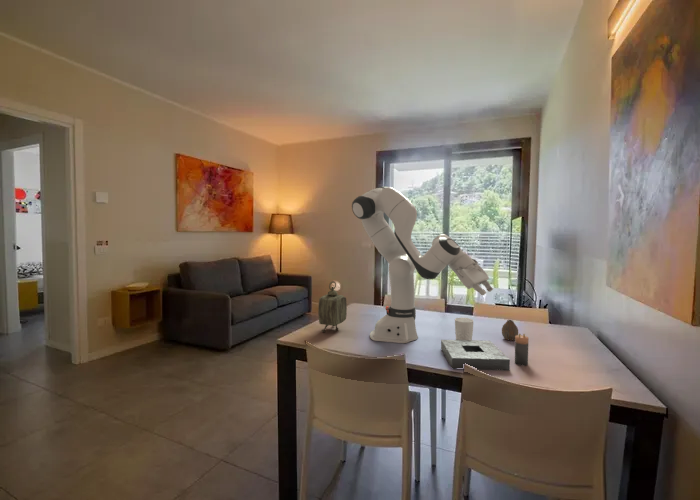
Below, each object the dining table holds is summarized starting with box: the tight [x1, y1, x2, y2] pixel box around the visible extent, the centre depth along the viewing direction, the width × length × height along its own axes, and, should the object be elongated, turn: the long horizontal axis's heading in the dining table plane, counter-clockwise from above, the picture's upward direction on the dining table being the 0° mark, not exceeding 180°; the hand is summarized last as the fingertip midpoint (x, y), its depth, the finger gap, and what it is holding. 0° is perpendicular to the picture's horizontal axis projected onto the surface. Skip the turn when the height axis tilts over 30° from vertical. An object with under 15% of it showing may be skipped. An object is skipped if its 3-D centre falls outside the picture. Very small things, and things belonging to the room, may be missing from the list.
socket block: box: [440, 339, 511, 372], centre depth 125 cm, size 20×20×4 cm
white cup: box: [454, 317, 474, 340], centre depth 145 cm, size 8×8×10 cm
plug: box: [514, 333, 530, 367], centre depth 121 cm, size 4×4×11 cm
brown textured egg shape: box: [501, 319, 519, 342], centre depth 148 cm, size 7×7×9 cm
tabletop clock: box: [317, 280, 348, 333], centre depth 162 cm, size 14×9×25 cm, turn 155°
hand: (488, 292), depth 127 cm, fingers open, 8 cm apart
